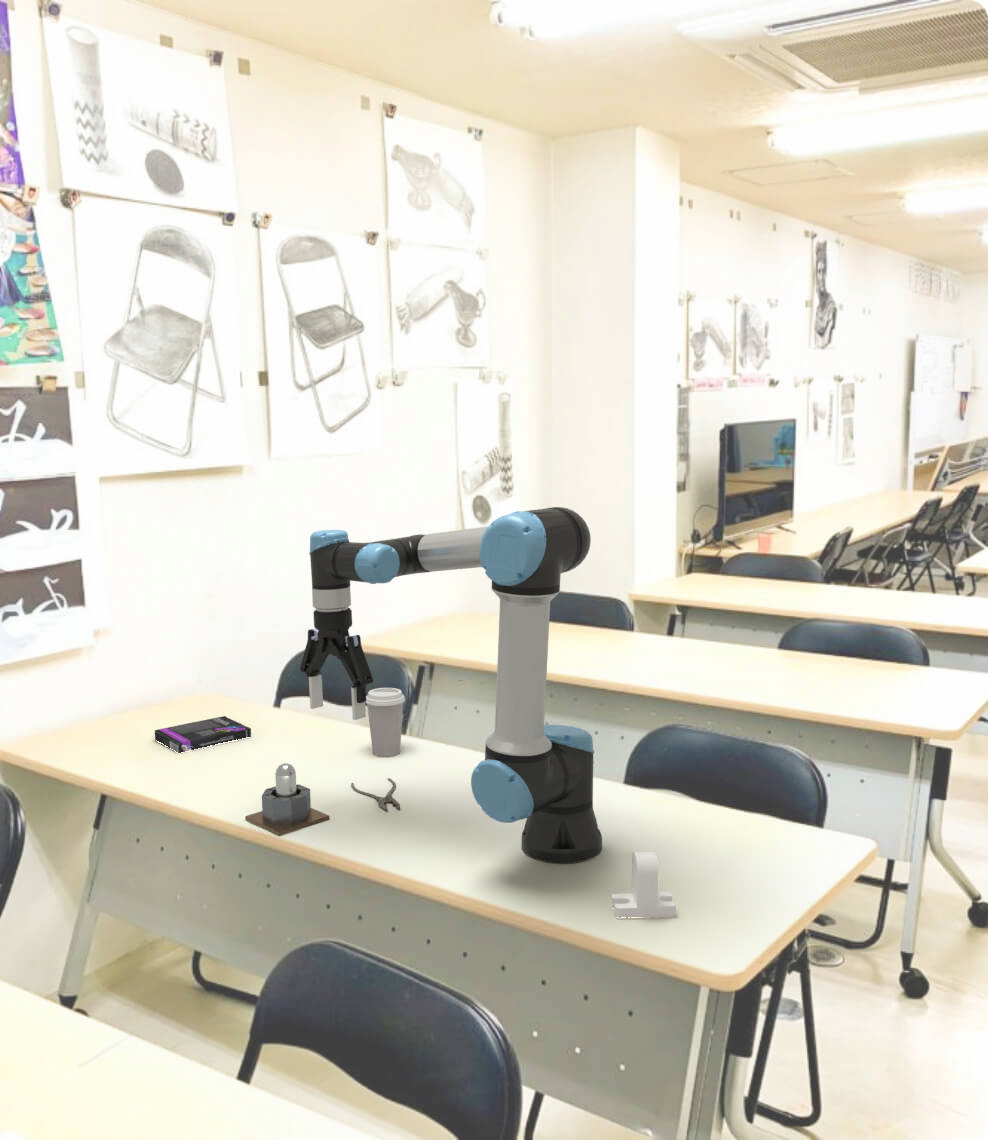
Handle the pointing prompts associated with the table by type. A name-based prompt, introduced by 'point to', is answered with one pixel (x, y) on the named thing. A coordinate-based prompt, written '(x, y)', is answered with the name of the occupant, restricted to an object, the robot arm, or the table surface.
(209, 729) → the box
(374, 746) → the coffee cup
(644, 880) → the white bearing bracket
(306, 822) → the piston post
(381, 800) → the pliers
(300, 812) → the ring
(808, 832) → the table surface
